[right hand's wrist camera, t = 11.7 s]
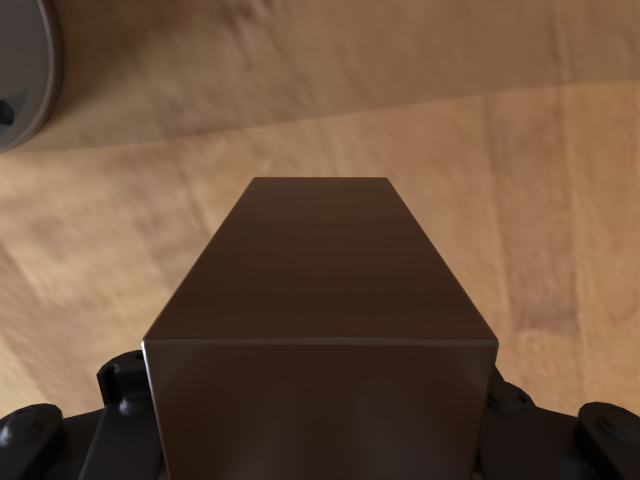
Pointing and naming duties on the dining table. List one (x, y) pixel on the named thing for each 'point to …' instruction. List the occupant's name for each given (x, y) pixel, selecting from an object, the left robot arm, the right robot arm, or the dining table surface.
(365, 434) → the walnut beam
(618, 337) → the dining table surface
